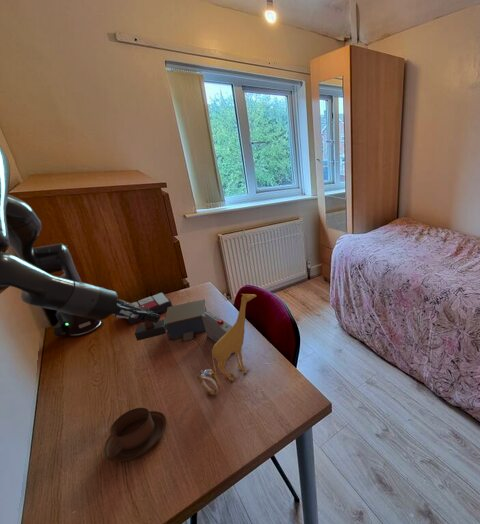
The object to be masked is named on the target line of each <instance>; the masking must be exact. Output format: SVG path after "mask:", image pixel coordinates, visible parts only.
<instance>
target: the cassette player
mask: <svg viewBox="0 0 480 524" xmlns="http://www.w3.org/2000/svg"><path fill="white" fill-rule="evenodd" d="M201 316H202V320H203V323H204V327H205V331H204V332H205V334H206V337H207V338H209V339H210V340H211V341H213V342H214V343H215V344H216V343H217V342H218V340H219V339H220V338H221V337H222V336H223V335H225V334H226V333H227V332H228V331H229V330H230V329H231V328H232V327H233V326H234V325H231V324H229V323H228V322H227V321H225V320H223V319H221V318H220V317H218V316H217V315H215V314H214V313H212V312H210V311H208V310H207V312H205V314H202V315H201ZM233 354H235V351H234V352H232V353H231V354H230V355H233Z"/></svg>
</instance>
